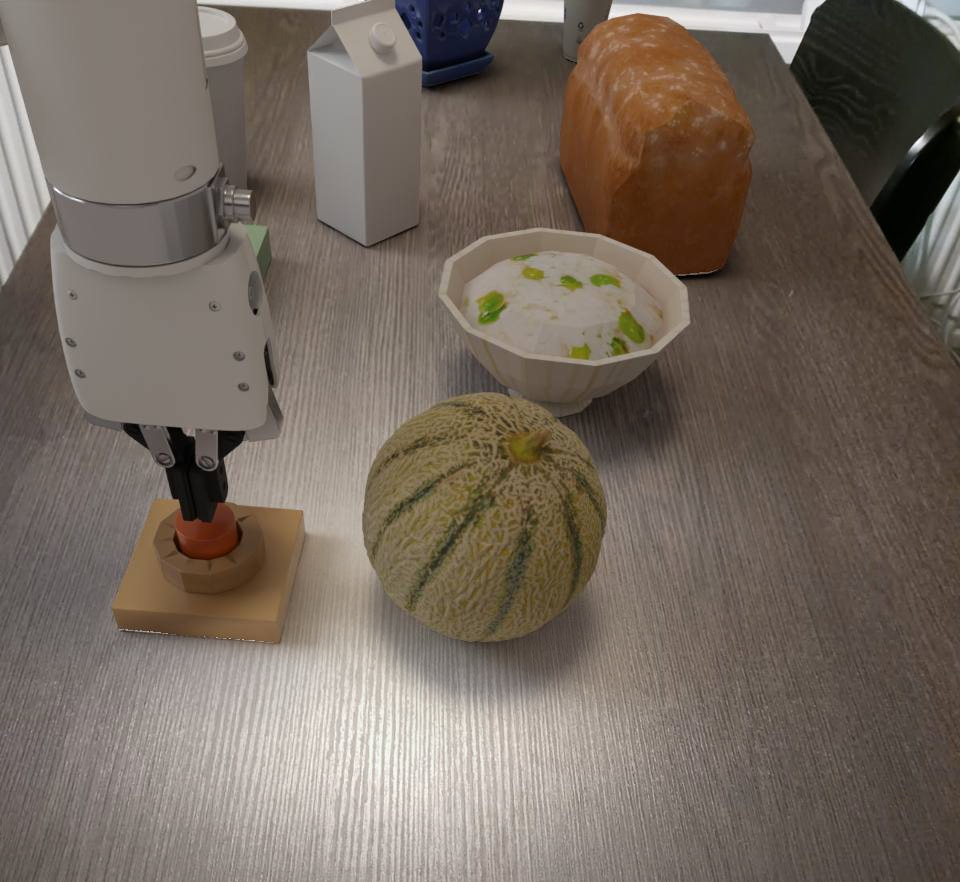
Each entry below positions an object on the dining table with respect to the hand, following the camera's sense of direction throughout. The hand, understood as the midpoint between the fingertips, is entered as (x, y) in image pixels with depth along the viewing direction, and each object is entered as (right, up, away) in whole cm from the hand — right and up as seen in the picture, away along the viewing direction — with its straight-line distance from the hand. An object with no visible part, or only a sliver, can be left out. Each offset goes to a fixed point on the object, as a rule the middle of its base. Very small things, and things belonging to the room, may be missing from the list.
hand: (203, 506), depth 58 cm
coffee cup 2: (+30, +68, +69) cm, 102 cm away
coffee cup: (-10, +37, +39) cm, 55 cm away
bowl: (+22, +12, +21) cm, 33 cm away
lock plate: (-9, +23, +27) cm, 37 cm away
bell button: (0, -2, +2) cm, 3 cm away
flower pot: (+10, +63, +63) cm, 90 cm away
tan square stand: (-1, -4, +5) cm, 7 cm away
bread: (+33, +36, +42) cm, 64 cm away
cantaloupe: (+16, -6, +6) cm, 18 cm away
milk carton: (+6, +33, +37) cm, 50 cm away
